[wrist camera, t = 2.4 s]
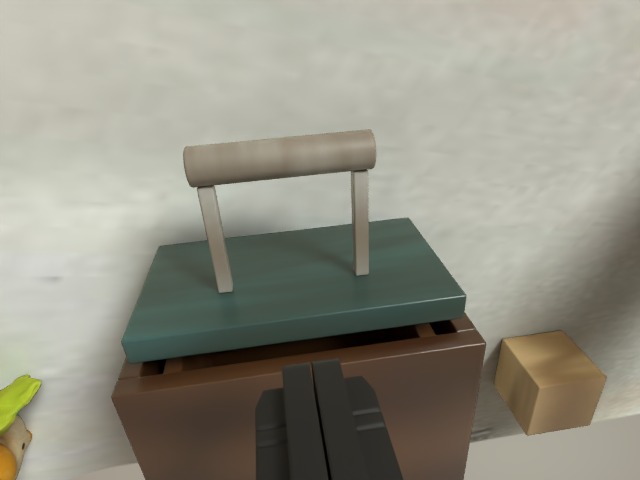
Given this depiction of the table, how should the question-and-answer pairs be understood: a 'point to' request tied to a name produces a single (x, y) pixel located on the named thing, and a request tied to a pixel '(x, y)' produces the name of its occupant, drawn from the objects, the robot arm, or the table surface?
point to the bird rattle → (14, 425)
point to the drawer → (287, 269)
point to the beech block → (548, 382)
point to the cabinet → (367, 361)
